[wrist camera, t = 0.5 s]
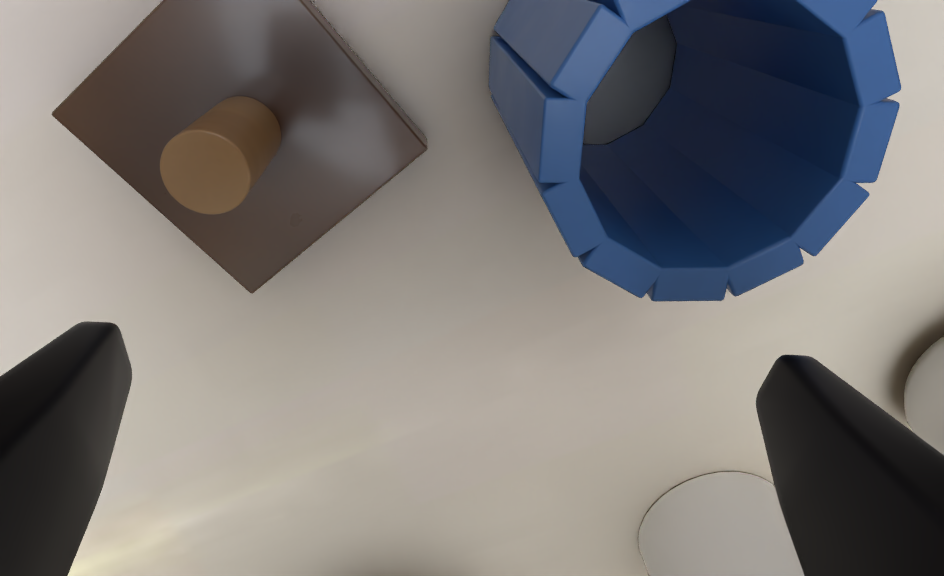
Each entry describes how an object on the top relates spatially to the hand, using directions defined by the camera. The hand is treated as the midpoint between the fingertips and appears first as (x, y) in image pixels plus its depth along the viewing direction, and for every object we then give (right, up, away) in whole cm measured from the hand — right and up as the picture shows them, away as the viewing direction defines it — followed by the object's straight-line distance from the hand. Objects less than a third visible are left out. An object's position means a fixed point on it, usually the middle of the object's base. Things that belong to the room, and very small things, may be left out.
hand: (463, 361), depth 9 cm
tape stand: (-7, +6, +12) cm, 16 cm away
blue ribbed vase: (+4, +8, +12) cm, 15 cm away
